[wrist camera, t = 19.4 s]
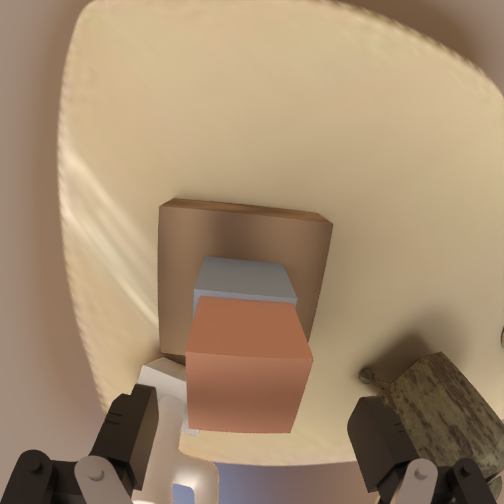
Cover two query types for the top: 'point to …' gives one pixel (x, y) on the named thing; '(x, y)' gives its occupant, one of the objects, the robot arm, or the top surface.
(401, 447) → the robot arm
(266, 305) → the terracotta block
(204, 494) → the figurine
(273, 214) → the plinth
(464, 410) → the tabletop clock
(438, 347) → the top surface
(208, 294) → the blue block
